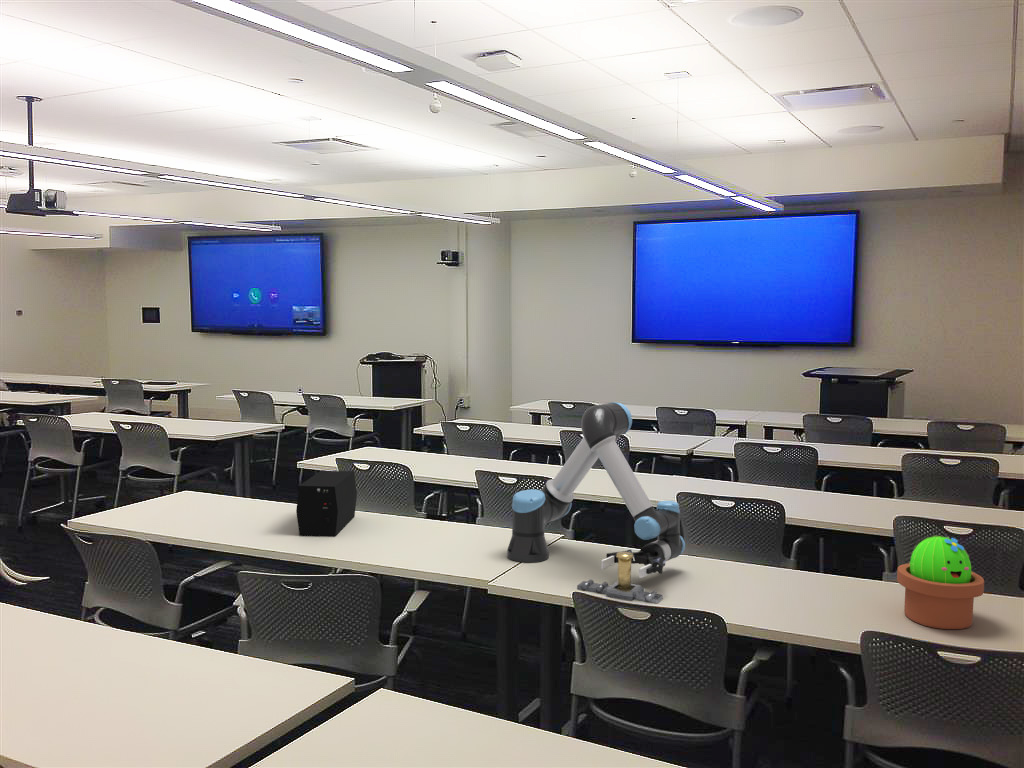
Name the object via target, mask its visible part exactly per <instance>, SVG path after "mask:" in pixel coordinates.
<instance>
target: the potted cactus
mask: <svg viewBox="0 0 1024 768" xmlns="http://www.w3.org/2000/svg"><path fill="white" fill-rule="evenodd" d="M958 542H959V541H958V540H957V539H956V538H954V537H951V538H950V537H949V536H941V535H936V534H935V535H934V536H930V537H926V538H925V539H923V540H922V541H920V542H917V543H916V546H914V549H913V551H912V552H911V556H910V557H909V556H908V557H909V558H910V561H909V562H908V563H904V564H901V565H898V567H897V570H896V571H897V574H896V581H897V583H898V584H899V585H900V586H901V587H903V588H904V589H905V590H904V591H905V592H904V604H903V605H904V607H903V608H904V609H903V610H904V611H903V612H904V615H905V616H906V617H907V619H909V620H911V621H913V622H915V623H917V624H920V625H922V626H925V627H929V628H935V629H941V630H963V629H967V628H969V627H971V626H972V624H973V617H974V616H973V615H974V602H975V601H974V600H975V598H979V597H981V596H983V595H984V592H985V580H984V579H985V578H983V577H982V576H981V575H980V574H977V573H976V572H974V571H972V569H973V566H972V564H971V563H972V562H971V560H970V554H969V553H970V552H969V553H967V551H966V549H965V547H964V546H963V545H961V544H959V543H958Z"/></svg>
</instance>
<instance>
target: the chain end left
mask: <svg viewBox="0 0 1024 768" xmlns="http://www.w3.org/2000/svg"><path fill="white" fill-rule="evenodd" d="M610 586H611V585H609V583H608V582H606V581H603V582H602V583H597V582H595V581H594V580H593V579H592V578H591V579H589V580H587V581H585V580H583V581H581V582H580V583H578V584H577V585H576V587H577V588H576V589H577V590H581V591H583V592H584V591H586V592H592V593H597V594H603V595H606V597H607V598H608V597H609V598H613V597H615V598H614V599H620V600H625V601H631V602H633V601H634V600H635V599H634V596H633V597H629V596H623V595H617V594H612V593H606V589H607V588H608V587H610ZM617 589H618V588H617Z"/></svg>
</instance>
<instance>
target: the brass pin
mask: <svg viewBox="0 0 1024 768" xmlns="http://www.w3.org/2000/svg"><path fill="white" fill-rule="evenodd" d="M617 552H618V553H617V555H616V557H617V558H618V563H617V566H618V567H617V581H618V589H620V590H626V591H630V590H631V584H632V582H631V581H632V563H631V559H633V560H634V557H633V553H630V552H622V551H617Z"/></svg>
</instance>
